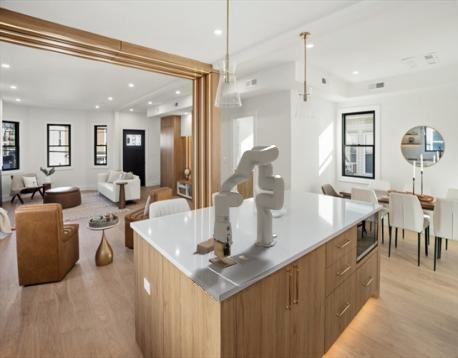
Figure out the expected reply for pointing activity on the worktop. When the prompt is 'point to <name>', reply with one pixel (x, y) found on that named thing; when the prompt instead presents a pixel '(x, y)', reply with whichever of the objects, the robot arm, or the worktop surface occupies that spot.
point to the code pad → (243, 258)
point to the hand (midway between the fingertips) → (222, 253)
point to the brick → (206, 246)
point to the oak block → (220, 249)
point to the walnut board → (223, 262)
